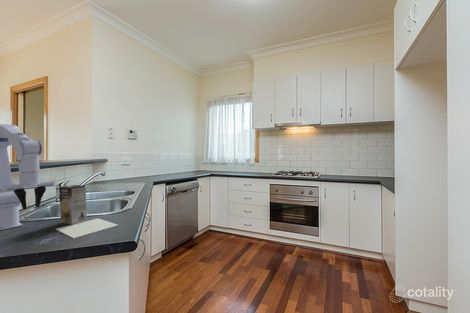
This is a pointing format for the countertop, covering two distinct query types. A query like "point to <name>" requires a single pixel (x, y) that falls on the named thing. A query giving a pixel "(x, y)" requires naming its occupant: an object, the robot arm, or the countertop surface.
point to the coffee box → (73, 204)
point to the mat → (86, 228)
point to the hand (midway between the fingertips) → (31, 207)
